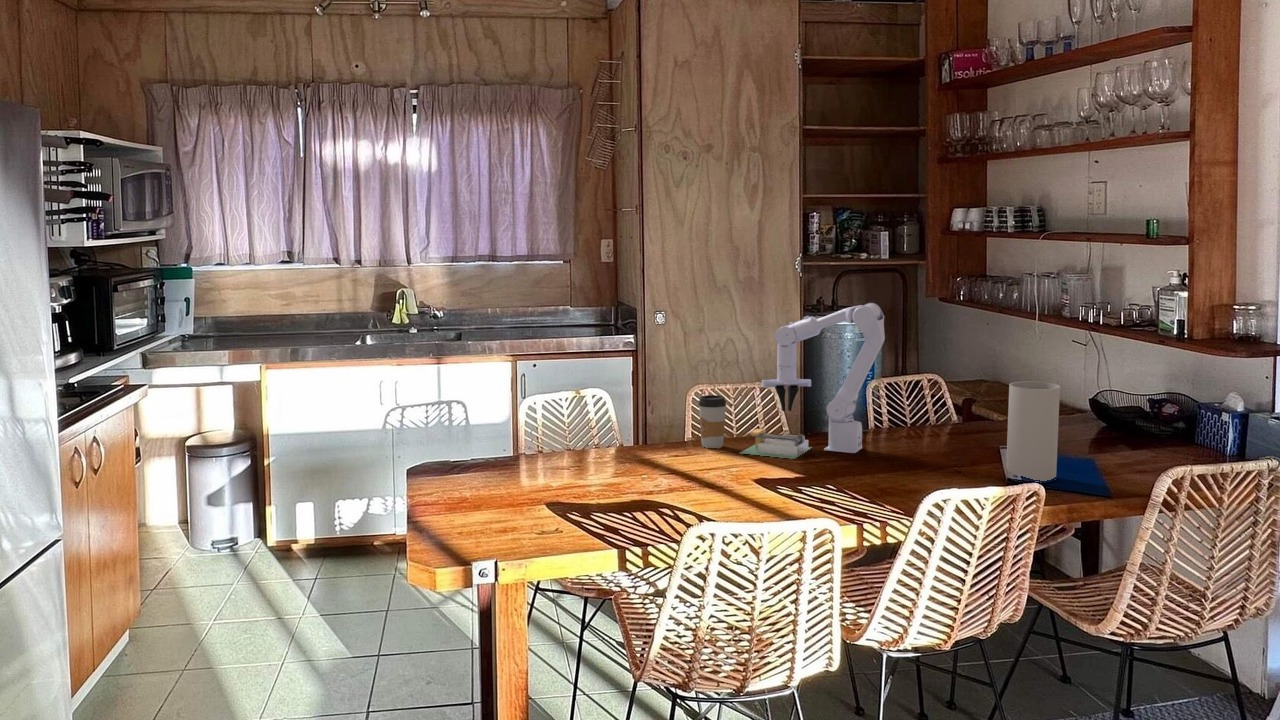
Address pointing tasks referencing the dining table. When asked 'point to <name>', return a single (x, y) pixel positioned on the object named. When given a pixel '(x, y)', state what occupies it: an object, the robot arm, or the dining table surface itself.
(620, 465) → the dining table surface
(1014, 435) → the cylinder vase
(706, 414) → the coffee cup
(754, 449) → the pcb mat
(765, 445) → the heatsink block
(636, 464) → the dining table surface
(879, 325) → the robot arm
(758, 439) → the latch
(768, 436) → the strap
